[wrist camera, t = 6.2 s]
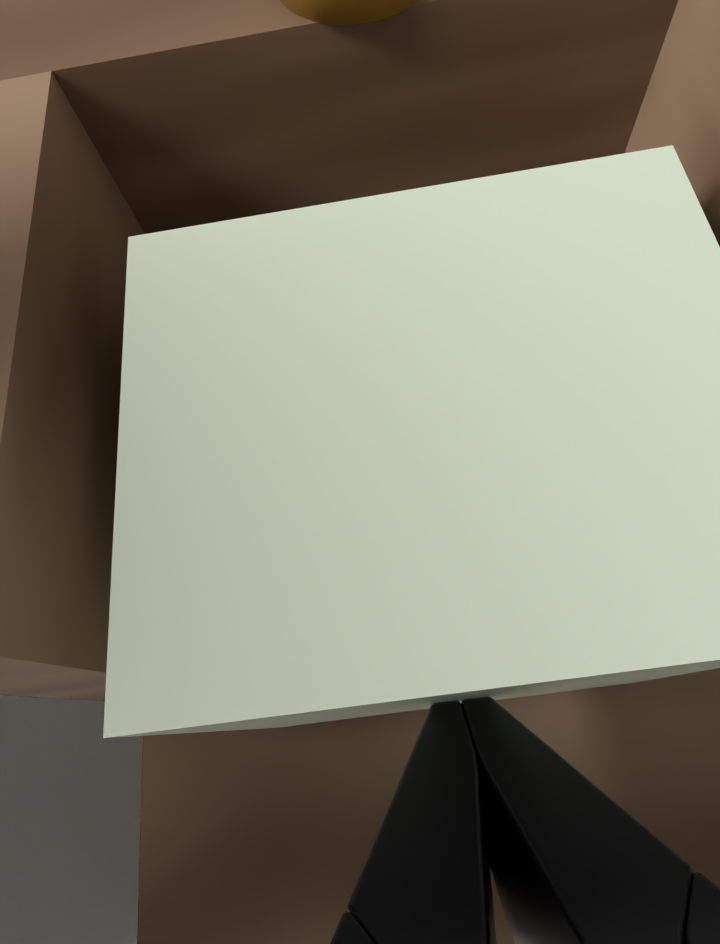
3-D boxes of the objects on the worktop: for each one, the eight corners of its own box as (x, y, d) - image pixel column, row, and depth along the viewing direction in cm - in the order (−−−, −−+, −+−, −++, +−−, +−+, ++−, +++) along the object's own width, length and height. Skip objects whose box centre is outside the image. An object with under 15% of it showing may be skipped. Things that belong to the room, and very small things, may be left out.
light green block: (630, 683, 12) (898, 636, 5) (280, 727, 12) (103, 737, 5) (555, 415, 14) (672, 145, 7) (264, 459, 14) (128, 236, 8)
